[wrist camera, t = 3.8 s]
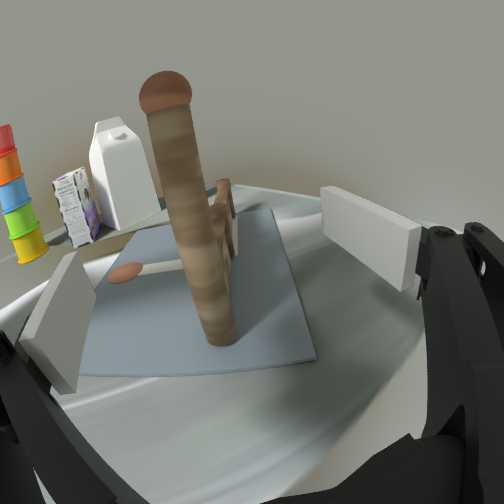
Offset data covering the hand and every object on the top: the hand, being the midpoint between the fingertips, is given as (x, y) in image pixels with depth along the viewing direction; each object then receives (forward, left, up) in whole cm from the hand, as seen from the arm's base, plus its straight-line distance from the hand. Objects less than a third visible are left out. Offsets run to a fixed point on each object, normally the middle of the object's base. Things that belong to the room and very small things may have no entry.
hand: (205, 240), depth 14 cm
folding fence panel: (-2, +13, -13) cm, 18 cm away
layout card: (-8, +22, -13) cm, 27 cm away
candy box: (-38, +46, -14) cm, 61 cm away
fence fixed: (-2, +30, -13) cm, 33 cm away
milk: (-28, +53, -14) cm, 61 cm away
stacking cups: (-55, +41, -14) cm, 70 cm away
